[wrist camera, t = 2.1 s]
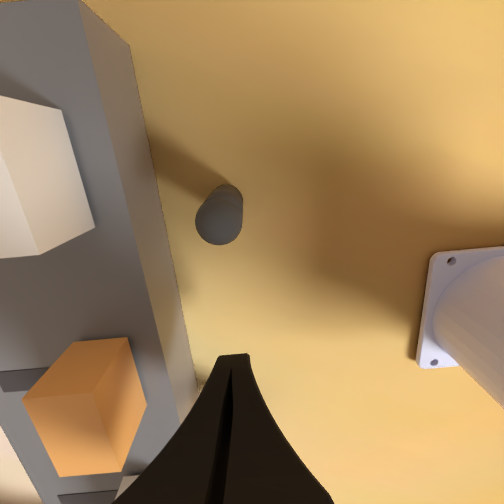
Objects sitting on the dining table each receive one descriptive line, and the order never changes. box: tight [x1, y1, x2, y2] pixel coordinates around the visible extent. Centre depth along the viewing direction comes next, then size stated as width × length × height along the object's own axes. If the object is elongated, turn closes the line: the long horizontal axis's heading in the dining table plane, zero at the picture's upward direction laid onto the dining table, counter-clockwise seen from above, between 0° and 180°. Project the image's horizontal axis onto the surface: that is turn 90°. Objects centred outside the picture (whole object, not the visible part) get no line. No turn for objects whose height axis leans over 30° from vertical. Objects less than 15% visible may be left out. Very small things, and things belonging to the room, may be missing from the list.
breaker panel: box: [0, 0, 199, 504], centre depth 15 cm, size 9×28×4 cm, turn 5°
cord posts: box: [195, 185, 243, 245], centre depth 14 cm, size 2×16×6 cm, turn 5°
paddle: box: [0, 96, 95, 259], centre depth 8 cm, size 2×4×3 cm, turn 5°
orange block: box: [21, 337, 147, 477], centre depth 11 cm, size 2×4×3 cm, turn 5°
